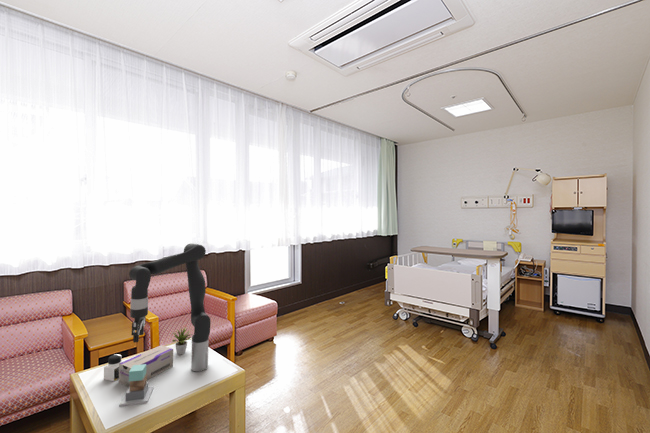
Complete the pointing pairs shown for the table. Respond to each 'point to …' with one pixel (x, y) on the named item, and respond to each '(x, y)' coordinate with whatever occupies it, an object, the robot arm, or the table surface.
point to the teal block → (137, 372)
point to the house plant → (181, 341)
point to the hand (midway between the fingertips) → (138, 338)
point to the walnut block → (138, 384)
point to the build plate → (124, 403)
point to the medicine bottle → (112, 368)
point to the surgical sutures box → (147, 363)
